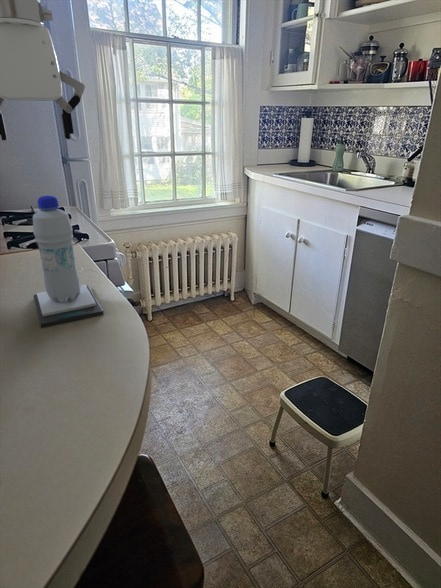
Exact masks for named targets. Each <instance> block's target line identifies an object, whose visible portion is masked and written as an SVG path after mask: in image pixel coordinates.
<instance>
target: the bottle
mask: <svg viewBox="0 0 441 588" xmlns="http://www.w3.org/2000/svg"><path fill="white" fill-rule="evenodd" d="M37 206H38V211H37V212H35V213H33V215H32V230H33V231H32V232H33V235H34V240H35V242H36V243H37V245H38V251H39V256H40V261H41V266H42V271H43V278H44V279H43V280H44V287H45V292H47V294H48V296H49V297H50V299H51V300H52V301H54V302H57V301H58V299H59V301H60V302H61V303H64V302H65V298H66V297H69V299H70V301H73V300H74V299H75V298H76V297H78V296H79V295H80V285H81V282H80V278H79V273H78V268H77V264H76V257H75V252H74V244H73V238H74V235H73V226H72V223H71V220H70V216H69V213H68V212H66V211H64V210H62V209H60V204H59V200H58V198H57V197H56V196H54V195H42V196H39V197H38V198H37Z"/></svg>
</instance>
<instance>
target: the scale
mask: <svg viewBox="0 0 441 588" xmlns="http://www.w3.org/2000/svg"><path fill="white" fill-rule="evenodd" d="M33 300H34V304H35V309H36V313H37V317H38V322H39V327H40V329H44V328H49V327H54V326H58V325H63V324H68V323H72V322H73V323H74V322H77V321H81V320H86V319H92V318H96V317H101V316H104V315H105V313H104V310H103V308H102V307H101V305H100V303H99V301H98V299H97V298H96V296H95V295H94V293H93V291H92V289H91V287H90V286H89V285H86V284H80V295H79V296H78V297H76V298H75V299H74V300H73V301H70V299H69V297H66V298H65V302H64V303H61V302H60V301H59V299H58V301H57V302H54V301H52V300H51V299H50V297H49V296H48V294H47V292H46V291H41V292H37V293H36V294H33Z"/></svg>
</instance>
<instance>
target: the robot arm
mask: <svg viewBox="0 0 441 588" xmlns="http://www.w3.org/2000/svg"><path fill="white" fill-rule="evenodd" d="M53 20H54V19H53V13H52V9H47V8H44V6H43V5H41V0H0V108H1V107H2V106H3V104H4V103H5V102H6V101H25V102H26V101H29V102H30V101H33V102H38V101H39V102H53V101H54V103H55V104H56V105H58V107H60V109H61V111H62V112H61V114H60V116H61V122H62V128H63V136H64V139H66V140H71V135H74V134H75V133H74V126H73V119H72V112H73V111H74V110H75V108H76V107H78V105H79V104H80V103H81V100H82V97H83V95H84V91H85V88H86V87H85V84H84V83H83V82H81V81H79V80H77V79H75V78H73V77H72V76H70V75H68V74H66V73H64V72H63V71H61V70H60V68H59V63H58V58H57V53H56V51H55V50H56V49H55V47H54V41H53V39H52V36H51V32H50V30H49V28H47V27H45V26H44V24H45V23H46V22H48V21H53ZM62 83H63V84H65V85H68V86H69V87H71V88H72V89H73V91H74V92H73V94H72V97H71V98H70V99H69V101H67V100H66V99H65V98H64V97H63V86H62ZM6 127H7V126H6V121H5V117H4V113H2V111H1V110H0V137H1V141H7V140H8V139H9V137H8V133H7V132H8V131H7V128H6Z"/></svg>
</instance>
